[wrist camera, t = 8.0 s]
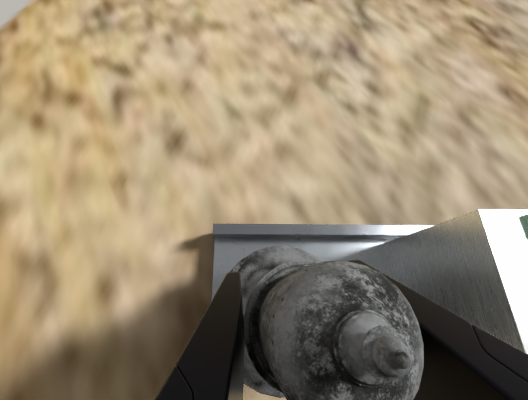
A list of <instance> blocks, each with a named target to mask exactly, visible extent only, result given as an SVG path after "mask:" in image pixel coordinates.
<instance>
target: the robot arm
mask: <svg viewBox="0 0 528 400" xmlns="http://www.w3.org/2000/svg"><path fill="white" fill-rule="evenodd" d="M348 262H352V263H357V264H362V265H366V266H368V267H370V268H372V269H374V270H376V269H375V268H373V267H371V266H369V265H368V264H366V263H364V262H362V261H360V260H348ZM376 271H378V270H376ZM378 272H380V271H378ZM380 273H382V272H380ZM382 274H383V273H382ZM383 275H384V276H385V277H386V278H388V279H389V280H390V281H391V282H392V283H394V284H395V285H396V286H397V287H398V288H399V290H400V291H401V292H402V294H403V295H404V296H405V298H406V299H407V300H408V302H409V303H410V305H411V307H412V310H413V312H414V314H415V316H416V318H417V320H418V323H419V327H420V331H421V336H422V340H423V345H424V368H423V373H422V377H421V382H420V386H419V389H418V391H417V393H416V395H415V397H414V399H413V400H528V354H526V353H525V352H523V351H521V350H519V349H517V348H515V347H513V346H511V345H509V344H508V343H506V342H504V341H502V340H500V339H498V338H497V337H495V336H493V335H491V334H489V333H488V332H486V331H484V330H482V329H481V328H479V327H477V326H475V325H471V323H470V322H468V321H466V320H465V319H463V318H461V317H459V316H458V315H456V314H454V313H452V312H450V311H449V310H447V309H445V308H443V307H442V306H440V305H438V304H436V303H435V302H433V301H431V300H429V299H428V298H426V297H424V296H422V295H420V294H419V293H417V292H415V291H413V290H412V289H410V288H408V287H406V286H405V285H403V284H401V283H399V282H398V281H396V280H394V279H392V278H390V277H389V276H387V275H385V274H383ZM244 358H245V340H244V319H243V304H242V289H241V276H240V272H239V271H237V272H228V273H227V274H226V276H225V278H224V279H223V281H222V283H221V285H220V286H219V288H218V290H217V292H216V294H215V295H214V297H213V299H212V301H211V302H210V304H209V306H208V308H207V309H206V311H205V313H204V315H203V317H202V318H201V320H200V322H199V324H198V325H197V327H196V329H195V331H194V332H193V334H192V336H191V338H190V340H189V341H188V343H187V345H186V347H185V348H184V350H183V352H182V354H181V355H180V357H179V359H178V361H177V363H176V366H174V368H173V369H172V371H171V373H170V375H169V376H168V378H167V380H166V382H165V383H164V385H163V387H162V388H161V390H160V392H159V393H158V395H157V397H156V398H155V400H243V380H244Z"/></svg>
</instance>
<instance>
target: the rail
mask: <svg viewBox="0 0 528 400" xmlns="http://www.w3.org/2000/svg"><path fill="white" fill-rule="evenodd" d="M213 236H214V238H215V244H214V263H213V282H212V299H213V297H214V295H215V294H216V292H217V290H218V288H219V286H220V285H221V283H222V281H223V279H224V278H225V276H226V274H227V273H228V272H230V271H231V270H232V269H233V268H234V267H235V266H236V265H237V263H238V262H239V261H240V260H242V259H243V258H245V257H247V256H248V255H250V254H251V253H253V252H254V251H257V250H261V249H264V248H267V247H270V246H289V247H294V248H298V249H302V250H304V251H306V252H308V253H310V254H312V255H314V256H316V257H317V258H319V259H320V260H321V261H322V262H324V261H338V260H343V261H348V260H360V261H362V262H364V263H366V264H368V265H369V266H371V267H373V268H375V269H376V270H378V271H380V272H382V273H383V274H385V275H387V276H389V277H390V278H392V279H394V280H396V281H398V282H399V283H401V284H403V285H405V286H406V287H408V288H410V289H412V290H413V291H415V292H417V293H419V294H420V295H422V296H424V297H426V298H428V299H429V300H431V301H433V302H435V303H436V304H438V305H440V306H442V307H443V308H445V309H447V310H449V311H450V312H452V313H454V314H456V315H458V316H459V317H461V318H463V319H465V320H466V321H468V322H470V323H471V325H475V326H477V327H479V328H481V329H482V330H484V331H486V332H488V333H489V334H491V335H493V336H495V337H497V338H498V339H500V340H502V341H504V342H506V343H508V344H509V345H511V346H513V347H515V348H517V349H519V350H521V351H523V352H525V353H526V354H528V210H481V209H479V210H476V211H473V212H470V213H468V214H465V215H462V216H459V217H456V218H454V219H451V220H448V221H445V222H442V223H440V224H437V225H306V224H213ZM211 301H212V300H211Z"/></svg>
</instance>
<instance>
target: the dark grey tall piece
mask: <svg viewBox="0 0 528 400" xmlns="http://www.w3.org/2000/svg"><path fill="white" fill-rule="evenodd" d="M237 271H239V272H240V276H241V289H242V304H243V319H244V340H245V358H244V380H243V384H245V385H247V386H249V387H250V388H252V389H254V390H255V391H257V392H259V393H261V394H266V395H270V396H275V397H279V398H281V397H286V399H287V400H413V399H414V397H415V395H416V393H417V391H418V389H419V386H420V382H421V377H422V373H423V368H424V345H423V340H422V336H421V331H420V327H419V323H418V320H417V318H416V316H415V314H414V312H413V310H412V307H411V305H410V303H409V302H408V300H407V299H406V298H405V296H404V295H403V294H402V292H401V291H400V290H399V288H398V287H397V286H396V285H395V284H394V283H392V282H391V281H390V280H389V279H388V278H386V277H385V276H384V275H383V274H382V273H380V272H378V271H376V270H374V269H372V268H370V267H368V266H366V265H362V264H357V263H352V262H348V261H343V260H338V261H324V262H322V261H321V260H320V259H319V258H317V257H316V256H314V255H312V254H310V253H308V252H306V251H304V250H302V249H298V248H294V247H289V246H270V247H267V248H264V249H261V250H257V251H254V252H253V253H251V254H250V255H248V256H247V257H245V258H243V259H242V260H240V261H239V262H238V263H237V265H236V266H235V267H234V268H233V269H232V270H231V271H230V272H237Z"/></svg>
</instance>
